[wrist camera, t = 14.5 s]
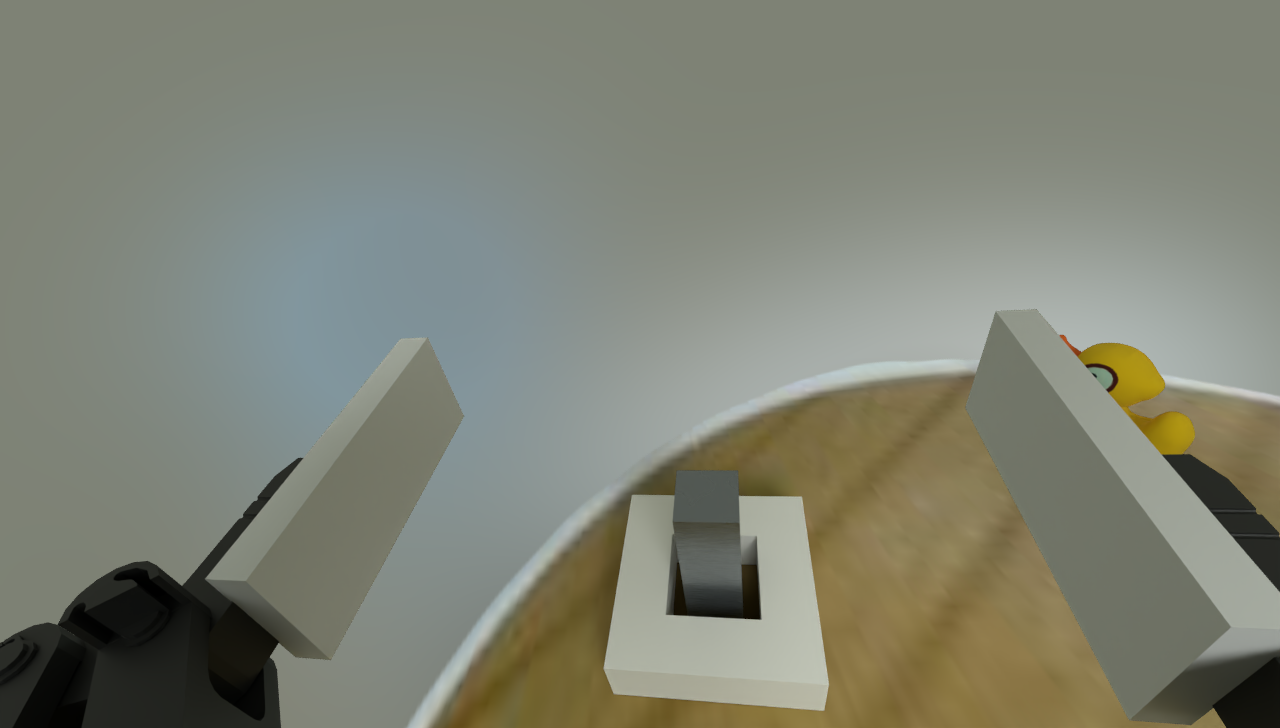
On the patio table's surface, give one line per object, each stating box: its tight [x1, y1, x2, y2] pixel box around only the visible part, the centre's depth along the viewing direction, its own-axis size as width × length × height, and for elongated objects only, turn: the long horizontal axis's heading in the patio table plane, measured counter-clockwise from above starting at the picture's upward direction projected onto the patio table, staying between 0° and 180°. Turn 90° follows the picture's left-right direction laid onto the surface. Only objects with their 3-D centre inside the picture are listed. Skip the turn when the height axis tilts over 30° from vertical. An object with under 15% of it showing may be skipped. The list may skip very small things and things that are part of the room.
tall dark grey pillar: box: [672, 471, 743, 619], centre depth 37 cm, size 4×4×13 cm
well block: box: [604, 495, 829, 711], centre depth 40 cm, size 14×14×4 cm
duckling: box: [1059, 335, 1195, 454], centre depth 45 cm, size 11×5×10 cm, turn 27°
